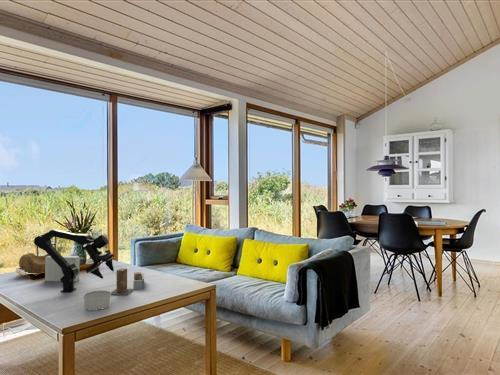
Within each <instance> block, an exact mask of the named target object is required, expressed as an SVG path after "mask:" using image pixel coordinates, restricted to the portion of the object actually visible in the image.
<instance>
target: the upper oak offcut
mask: <svg viewBox="0 0 500 375" xmlns="http://www.w3.org/2000/svg"><path fill="white" fill-rule="evenodd" d="M142 273H143V272H141V271H138V272H135V271H134V272H133V281H134V280H142Z"/></svg>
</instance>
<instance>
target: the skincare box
mask: <svg viewBox="0 0 500 375" xmlns="http://www.w3.org/2000/svg"><path fill="white" fill-rule="evenodd" d="M62 257H63V258H64V259H65V260H66V261H67V262H68V263H70V264H72V263H74V264H75V265H76V266H77V267H78V270H79V271H80V256H79V255H78V256H76V255H75V256H74V255H72V256H71V255H62ZM63 276H64V274H63V273H62V269H61V267H60V266H59V265H58V264H57V263H56V262H55V261H54V260H53V259H52V258H51V257H50V256H48V257H45V273H44V281H45V282H61V280H60V279H61V278H62V277H63ZM79 280H80V272H79V273H78V275H77V276H76V278H75V279H74V283H76V282H77V281H79Z"/></svg>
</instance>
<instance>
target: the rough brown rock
mask: <svg viewBox="0 0 500 375" xmlns="http://www.w3.org/2000/svg"><path fill="white" fill-rule="evenodd" d="M48 256H49V254H48V253H46V254H44V255H36V254H35V253H33V252H27V253H26V254H23V255H21V256H20V258H19V261H18V265H19V266H18V267H19V268H20V269H21V270H23V271H24V273H25V272H28V273H42V272H45V257H48Z"/></svg>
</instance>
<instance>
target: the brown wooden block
mask: <svg viewBox="0 0 500 375" xmlns="http://www.w3.org/2000/svg"><path fill="white" fill-rule="evenodd" d="M116 289H117V293H124V292H125V291H127V289H128V268H127V267H125V268H123V267H120V268H119V269H116Z"/></svg>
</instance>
